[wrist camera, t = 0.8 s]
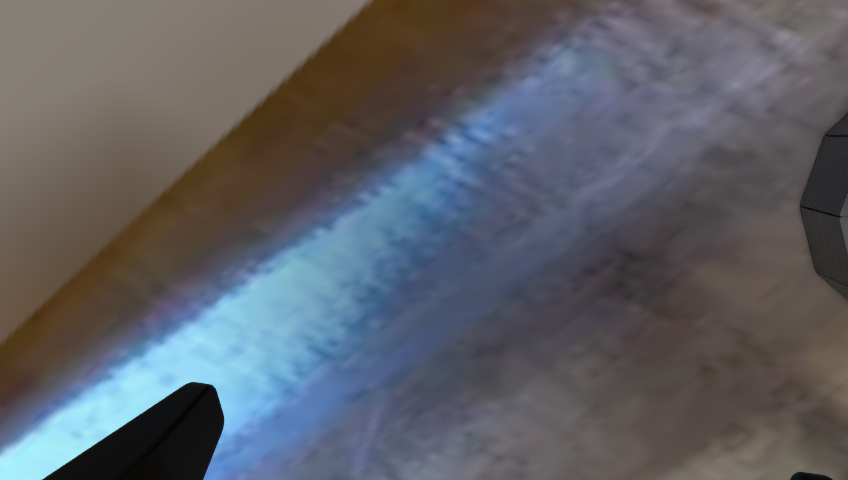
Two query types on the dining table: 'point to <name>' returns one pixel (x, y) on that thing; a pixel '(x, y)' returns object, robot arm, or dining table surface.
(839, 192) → the faceted metal ring
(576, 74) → the dining table surface
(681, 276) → the dining table surface
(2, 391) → the dining table surface
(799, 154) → the dining table surface
